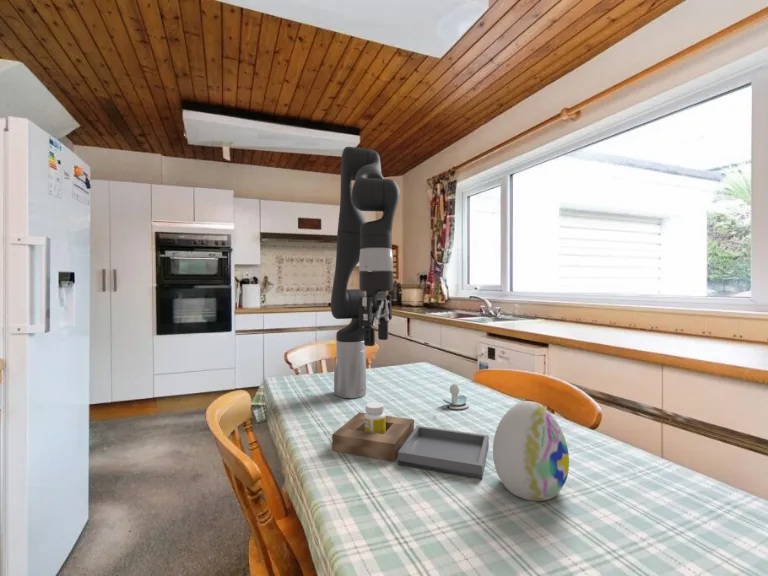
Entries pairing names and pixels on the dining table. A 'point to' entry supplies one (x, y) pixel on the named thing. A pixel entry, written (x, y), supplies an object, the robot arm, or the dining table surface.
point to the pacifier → (456, 399)
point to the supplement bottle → (375, 418)
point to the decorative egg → (531, 452)
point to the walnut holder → (372, 438)
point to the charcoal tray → (445, 451)
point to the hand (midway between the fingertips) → (376, 342)
